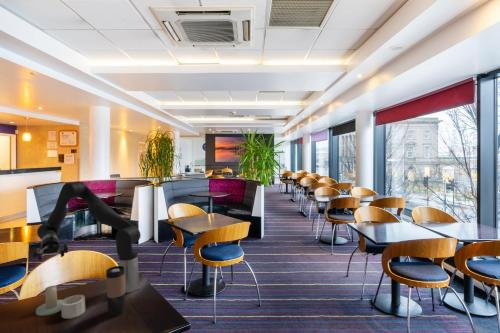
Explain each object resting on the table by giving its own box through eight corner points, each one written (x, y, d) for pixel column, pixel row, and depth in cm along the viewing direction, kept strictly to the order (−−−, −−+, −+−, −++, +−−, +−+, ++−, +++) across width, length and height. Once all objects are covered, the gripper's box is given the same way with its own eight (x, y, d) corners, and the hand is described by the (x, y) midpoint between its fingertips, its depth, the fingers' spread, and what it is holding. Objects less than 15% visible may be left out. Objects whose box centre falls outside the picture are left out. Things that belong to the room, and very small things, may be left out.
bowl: (85, 305, 132) (84, 292, 131) (85, 314, 124) (84, 301, 124) (62, 310, 127) (61, 298, 127) (61, 320, 119) (60, 307, 119)
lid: (67, 299, 138) (66, 279, 137) (66, 310, 127) (65, 289, 127) (37, 306, 131) (36, 285, 131) (33, 319, 121) (32, 297, 121)
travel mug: (129, 307, 129) (127, 266, 128) (120, 317, 122) (118, 273, 121) (114, 306, 130) (112, 265, 129) (103, 316, 122) (102, 272, 121)
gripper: (33, 238, 142) (33, 252, 129) (66, 234, 150) (69, 247, 138) (32, 252, 143) (32, 267, 130) (65, 247, 152) (68, 261, 139)
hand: (51, 257), depth 134 cm, fingers open, 8 cm apart
